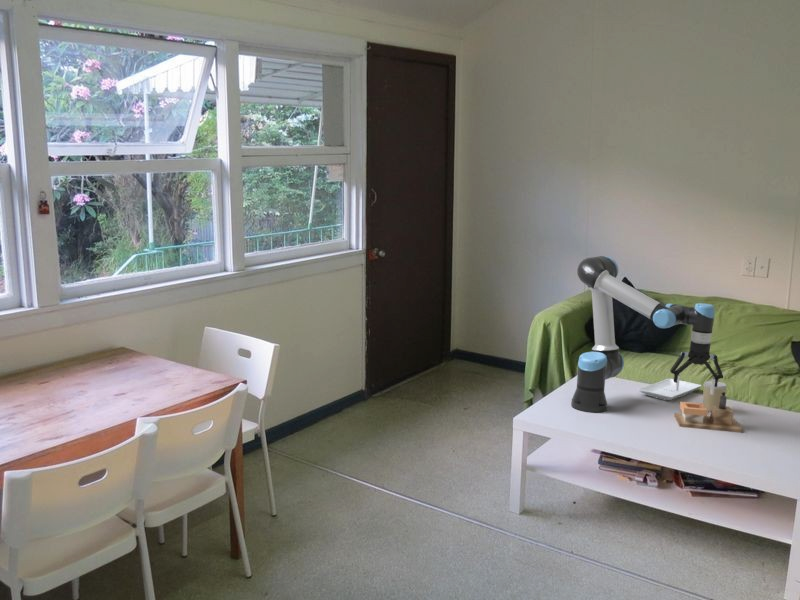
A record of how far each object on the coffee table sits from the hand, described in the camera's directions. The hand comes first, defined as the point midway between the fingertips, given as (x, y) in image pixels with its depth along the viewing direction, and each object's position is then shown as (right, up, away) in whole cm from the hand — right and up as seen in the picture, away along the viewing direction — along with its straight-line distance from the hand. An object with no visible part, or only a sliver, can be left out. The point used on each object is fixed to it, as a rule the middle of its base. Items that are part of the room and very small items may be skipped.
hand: (694, 392), depth 300 cm
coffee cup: (+16, -10, +20) cm, 27 cm away
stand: (+6, -13, +1) cm, 14 cm away
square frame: (0, -8, +1) cm, 8 cm away
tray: (+6, -6, +43) cm, 44 cm away
